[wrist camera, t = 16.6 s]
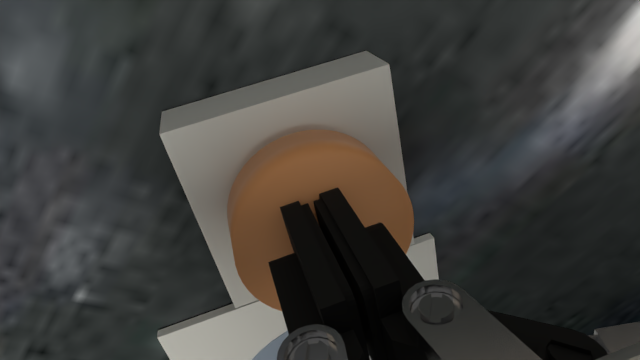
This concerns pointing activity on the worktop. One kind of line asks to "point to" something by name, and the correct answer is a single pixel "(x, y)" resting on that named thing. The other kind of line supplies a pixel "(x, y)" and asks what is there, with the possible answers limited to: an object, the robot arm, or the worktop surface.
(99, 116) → the worktop surface
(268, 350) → the white flat plate
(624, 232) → the worktop surface
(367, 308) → the robot arm
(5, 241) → the worktop surface
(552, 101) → the worktop surface
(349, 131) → the button housing
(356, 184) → the button
